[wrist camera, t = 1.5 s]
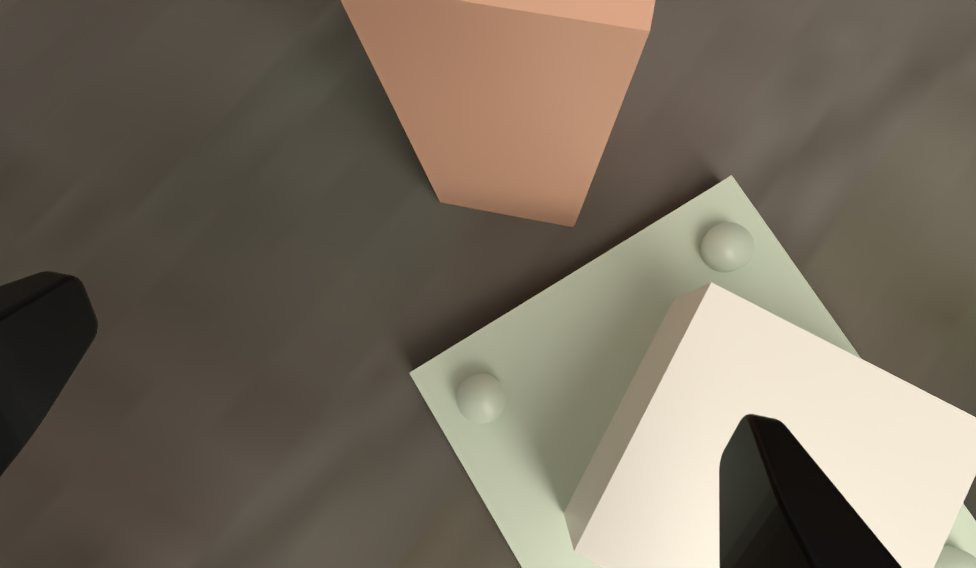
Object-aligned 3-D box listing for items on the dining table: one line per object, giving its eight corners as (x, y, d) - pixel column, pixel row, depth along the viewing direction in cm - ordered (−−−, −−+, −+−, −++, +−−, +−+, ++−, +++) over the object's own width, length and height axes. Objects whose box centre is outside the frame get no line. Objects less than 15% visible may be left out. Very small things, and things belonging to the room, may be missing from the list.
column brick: (573, 227, 22) (650, 31, 9) (440, 202, 22) (330, -21, 9) (598, 98, 23) (703, -257, 10) (467, 76, 23) (400, -294, 10)
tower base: (1005, 588, 20) (1170, 663, 15) (666, 806, 19) (716, 959, 14) (722, 183, 22) (781, 130, 17) (414, 372, 21) (382, 374, 17)
